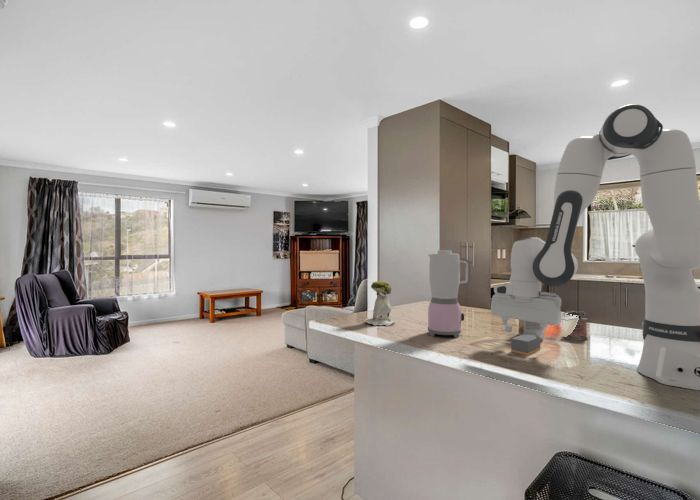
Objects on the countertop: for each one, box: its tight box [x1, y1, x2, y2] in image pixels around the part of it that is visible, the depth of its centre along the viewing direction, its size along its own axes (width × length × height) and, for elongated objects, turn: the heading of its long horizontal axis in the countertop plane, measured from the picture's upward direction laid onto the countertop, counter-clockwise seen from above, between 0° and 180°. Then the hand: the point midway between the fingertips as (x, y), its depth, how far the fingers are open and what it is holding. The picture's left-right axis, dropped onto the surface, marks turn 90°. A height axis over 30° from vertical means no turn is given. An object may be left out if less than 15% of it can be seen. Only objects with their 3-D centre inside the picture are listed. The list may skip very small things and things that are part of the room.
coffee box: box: [518, 319, 544, 342], centre depth 131 cm, size 9×6×16 cm
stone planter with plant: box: [365, 280, 396, 327], centre depth 161 cm, size 12×13×18 cm
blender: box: [427, 249, 471, 339], centre depth 141 cm, size 16×12×32 cm
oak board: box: [464, 336, 552, 360], centre depth 119 cm, size 22×14×2 cm, turn 42°
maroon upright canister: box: [563, 310, 588, 341], centre depth 135 cm, size 8×3×10 cm, turn 76°
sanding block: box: [510, 334, 541, 355], centre depth 115 cm, size 5×9×4 cm, turn 132°
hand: (523, 334), depth 115 cm, fingers open, 8 cm apart
